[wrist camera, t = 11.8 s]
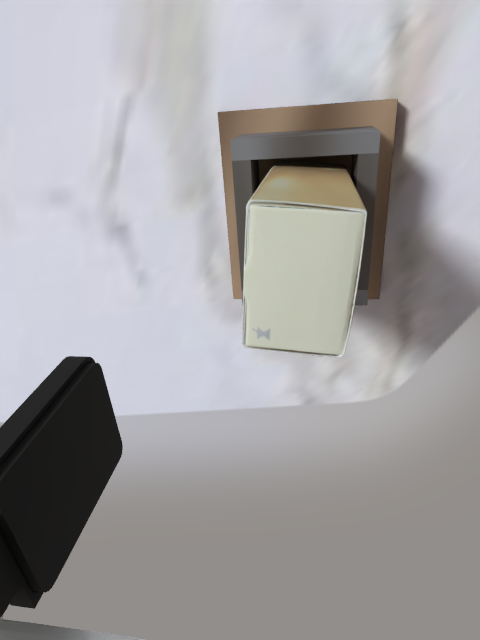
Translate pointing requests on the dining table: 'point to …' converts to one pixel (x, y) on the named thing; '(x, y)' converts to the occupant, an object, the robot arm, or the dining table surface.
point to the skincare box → (302, 259)
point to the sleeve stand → (311, 146)
